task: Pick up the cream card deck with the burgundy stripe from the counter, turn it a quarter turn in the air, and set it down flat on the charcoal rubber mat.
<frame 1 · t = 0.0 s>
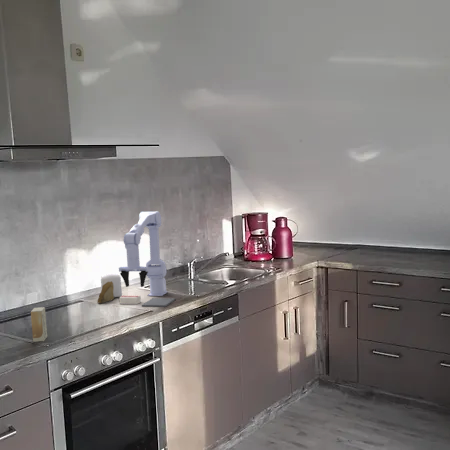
hand: (134, 286, 269), 10 cm above the worktop, tool pointing down, fingers open, 7 cm apart
rock: (105, 301, 287), on the worktop, touching photo printer
mat: (158, 303, 276), on the worktop
skincare box: (40, 340, 223), on the worktop
photo printer: (112, 297, 294), on the worktop, touching rock
card deck: (130, 303, 280), on the worktop
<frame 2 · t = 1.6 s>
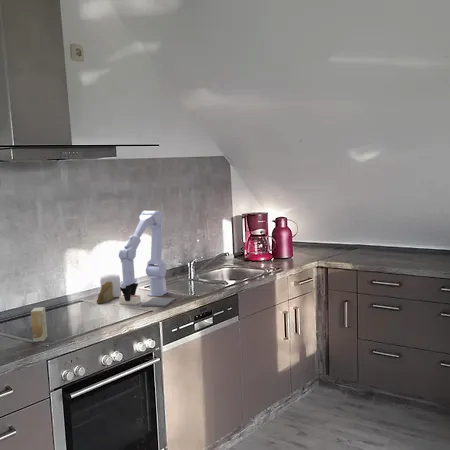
hand: (130, 299, 280), 2 cm above the worktop, tool pointing down, fingers closed on card deck, 5 cm apart
photo printer: (111, 297, 294), on the worktop, touching rock
card deck: (130, 303, 280), on the worktop, touching gripper
everything else where it was.
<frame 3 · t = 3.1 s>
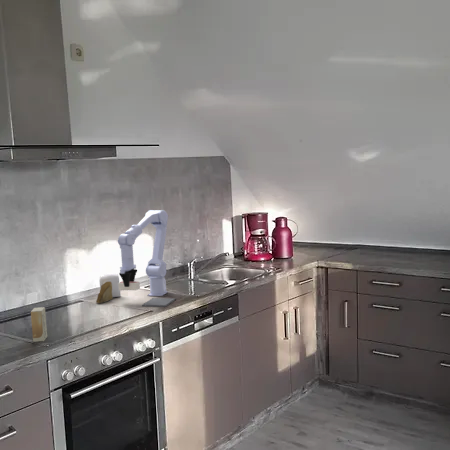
hand: (129, 285, 279), 9 cm above the worktop, tool pointing down, fingers closed on card deck, 5 cm apart
rock: (103, 301, 287), on the worktop, touching photo printer
photo printer: (110, 297, 294), on the worktop, touching rock
card deck: (129, 289, 279), point 7 cm above the worktop, touching gripper
everything else where it was.
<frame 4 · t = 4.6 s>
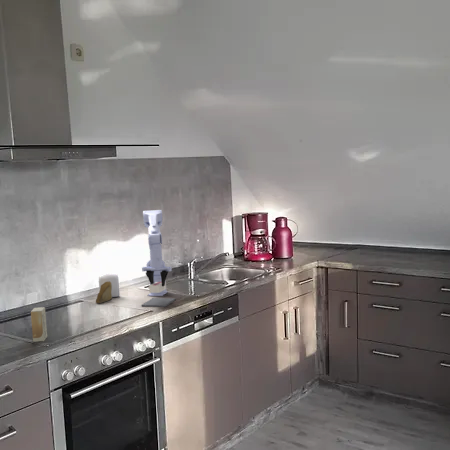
hand: (157, 285, 276), 9 cm above the worktop, tool pointing down, fingers closed on card deck, 5 cm apart
rock: (103, 301, 287), on the worktop, touching photo printer
photo printer: (109, 297, 295), on the worktop, touching rock
card deck: (157, 290, 275), point 6 cm above the worktop, touching gripper
everything else where it was.
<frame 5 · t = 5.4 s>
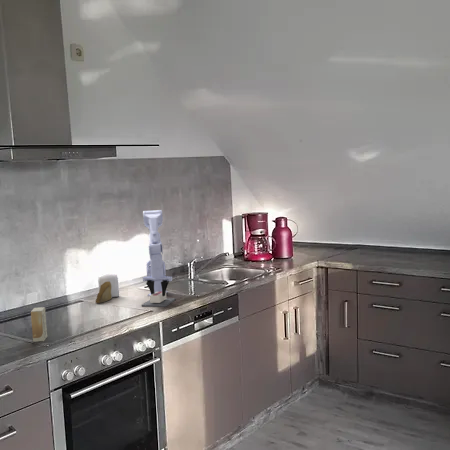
hand: (158, 295, 276), 4 cm above the worktop, tool pointing down, fingers closed on card deck, 5 cm apart
card deck: (158, 300, 276), point 1 cm above the worktop, touching gripper
everything else where it was.
when the fingers open (4 cm above the worktop, at t = 5.9 s): card deck stays where it is, resting on mat.
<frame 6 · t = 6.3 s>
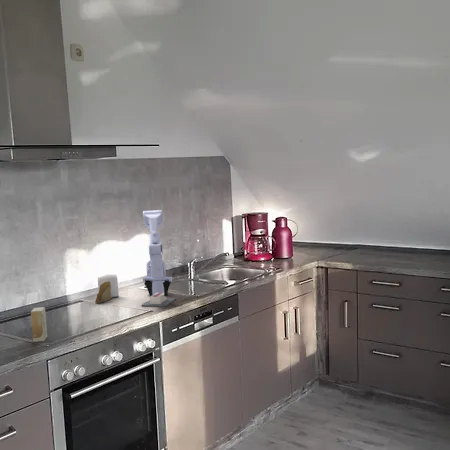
hand: (158, 295, 276), 4 cm above the worktop, tool pointing down, fingers open, 7 cm apart
card deck: (158, 301, 276), point 1 cm above the worktop, touching mat
everything else where it was.
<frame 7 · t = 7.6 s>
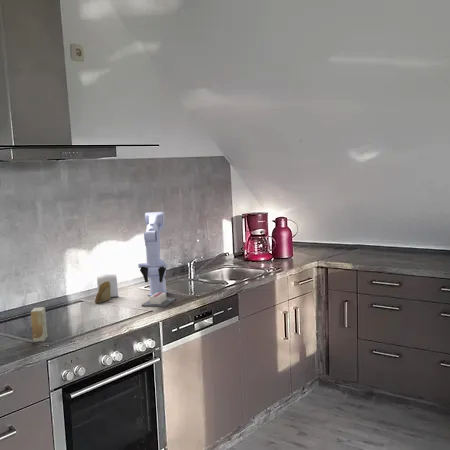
hand: (153, 282, 281), 9 cm above the worktop, tool pointing down, fingers open, 7 cm apart
photo printer: (108, 297, 295), on the worktop, touching rock
everything else where it was.
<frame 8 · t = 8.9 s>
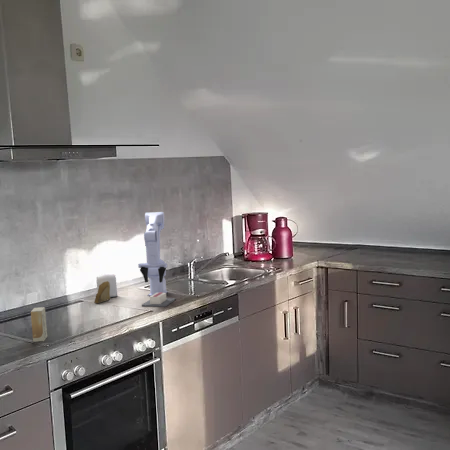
hand: (153, 282, 281), 9 cm above the worktop, tool pointing down, fingers open, 7 cm apart
at the end: card deck inside the target area on the mat (0.4 cm from its centre), point 0.8 cm above the mat's base; card deck tilted 0°; the gripper is holding nothing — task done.
